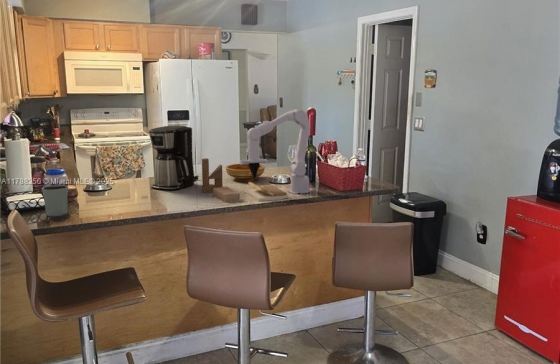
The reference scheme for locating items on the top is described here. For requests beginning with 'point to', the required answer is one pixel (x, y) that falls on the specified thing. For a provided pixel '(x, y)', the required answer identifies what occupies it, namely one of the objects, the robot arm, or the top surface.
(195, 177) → the coffee maker
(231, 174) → the wooden bowl
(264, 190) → the plank
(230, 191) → the brick
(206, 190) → the brown wooden bracket
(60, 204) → the gray cup
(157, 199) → the top surface
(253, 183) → the plank
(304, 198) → the top surface
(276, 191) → the floor board
